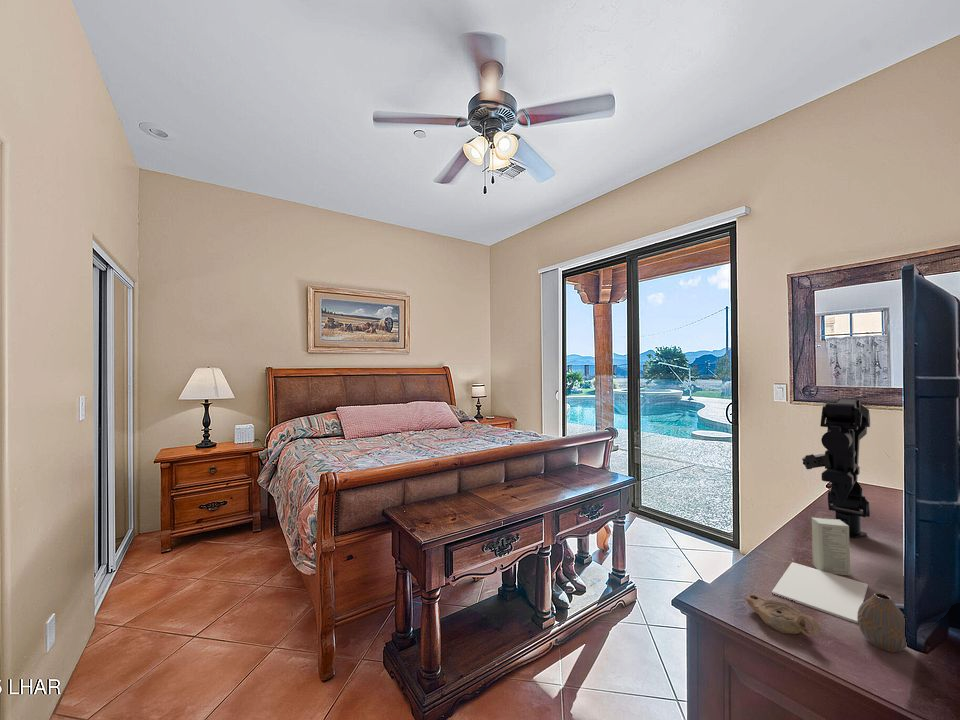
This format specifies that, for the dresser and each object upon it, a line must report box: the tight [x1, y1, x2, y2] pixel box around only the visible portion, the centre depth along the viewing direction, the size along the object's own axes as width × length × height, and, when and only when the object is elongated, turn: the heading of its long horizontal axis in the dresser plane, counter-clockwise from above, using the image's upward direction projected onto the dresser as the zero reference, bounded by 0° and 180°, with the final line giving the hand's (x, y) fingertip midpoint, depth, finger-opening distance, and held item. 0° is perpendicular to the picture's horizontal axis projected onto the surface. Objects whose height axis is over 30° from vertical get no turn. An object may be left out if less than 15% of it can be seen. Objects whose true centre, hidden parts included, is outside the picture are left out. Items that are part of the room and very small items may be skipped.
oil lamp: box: [746, 594, 821, 638], centre depth 79 cm, size 13×8×5 cm, turn 14°
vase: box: [857, 592, 908, 653], centre depth 74 cm, size 7×7×9 cm
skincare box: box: [811, 516, 851, 577], centre depth 100 cm, size 6×4×12 cm
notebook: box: [771, 561, 869, 625], centre depth 91 cm, size 20×14×1 cm
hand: (841, 502), depth 114 cm, fingers closed
